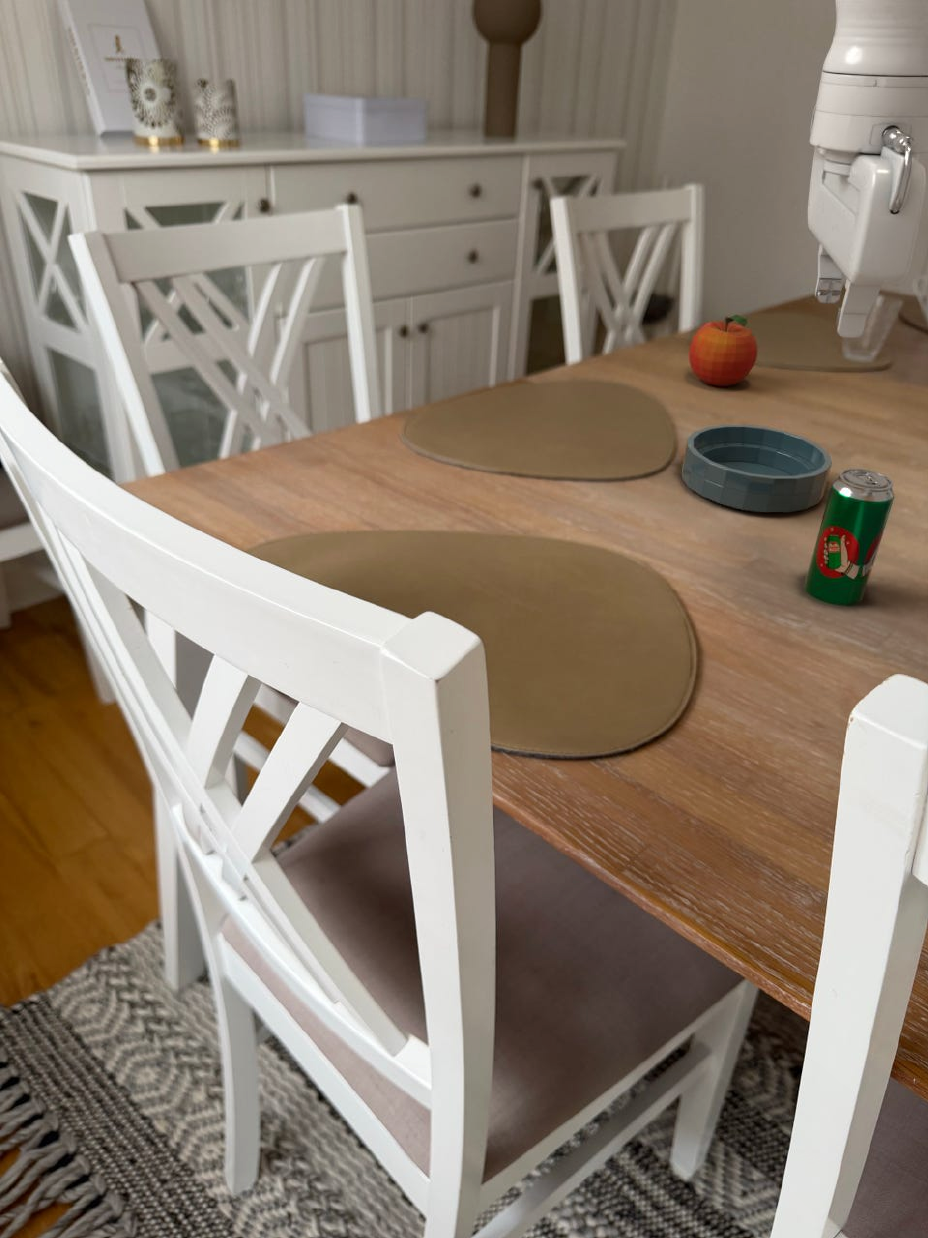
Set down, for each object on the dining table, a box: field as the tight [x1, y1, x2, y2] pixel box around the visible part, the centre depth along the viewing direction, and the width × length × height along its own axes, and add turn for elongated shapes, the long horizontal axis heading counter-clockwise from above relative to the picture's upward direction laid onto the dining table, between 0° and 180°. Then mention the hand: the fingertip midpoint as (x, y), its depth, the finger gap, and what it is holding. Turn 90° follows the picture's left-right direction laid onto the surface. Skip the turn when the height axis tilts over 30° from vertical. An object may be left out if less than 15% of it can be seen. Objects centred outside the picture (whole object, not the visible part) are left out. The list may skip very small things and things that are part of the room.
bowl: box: [681, 424, 833, 513], centre depth 105 cm, size 15×15×4 cm
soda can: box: [803, 468, 895, 607], centre depth 82 cm, size 5×5×12 cm
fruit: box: [688, 314, 758, 387], centre depth 136 cm, size 10×10×10 cm
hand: (836, 317), depth 74 cm, fingers open, 8 cm apart
